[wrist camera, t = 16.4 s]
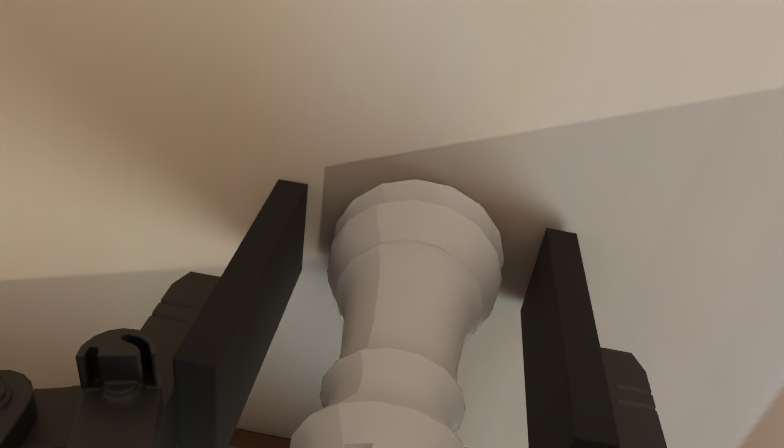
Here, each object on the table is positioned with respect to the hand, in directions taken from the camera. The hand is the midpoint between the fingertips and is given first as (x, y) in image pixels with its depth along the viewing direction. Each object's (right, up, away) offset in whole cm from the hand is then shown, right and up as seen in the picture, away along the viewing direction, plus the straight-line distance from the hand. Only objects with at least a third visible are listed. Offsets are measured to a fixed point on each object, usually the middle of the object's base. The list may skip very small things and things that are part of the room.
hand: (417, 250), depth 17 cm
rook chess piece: (0, 0, 0) cm, 1 cm away
